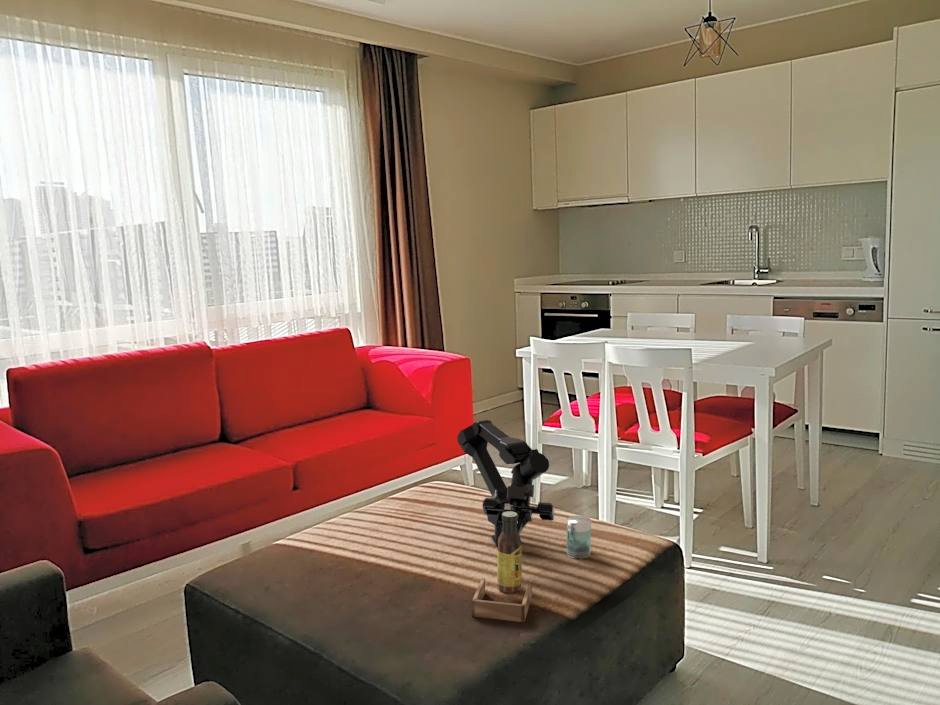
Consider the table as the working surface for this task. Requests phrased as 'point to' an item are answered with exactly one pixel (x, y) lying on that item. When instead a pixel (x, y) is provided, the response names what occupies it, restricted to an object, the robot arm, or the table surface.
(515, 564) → the sauce bottle
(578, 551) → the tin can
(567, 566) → the table surface
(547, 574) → the table surface
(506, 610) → the crate
